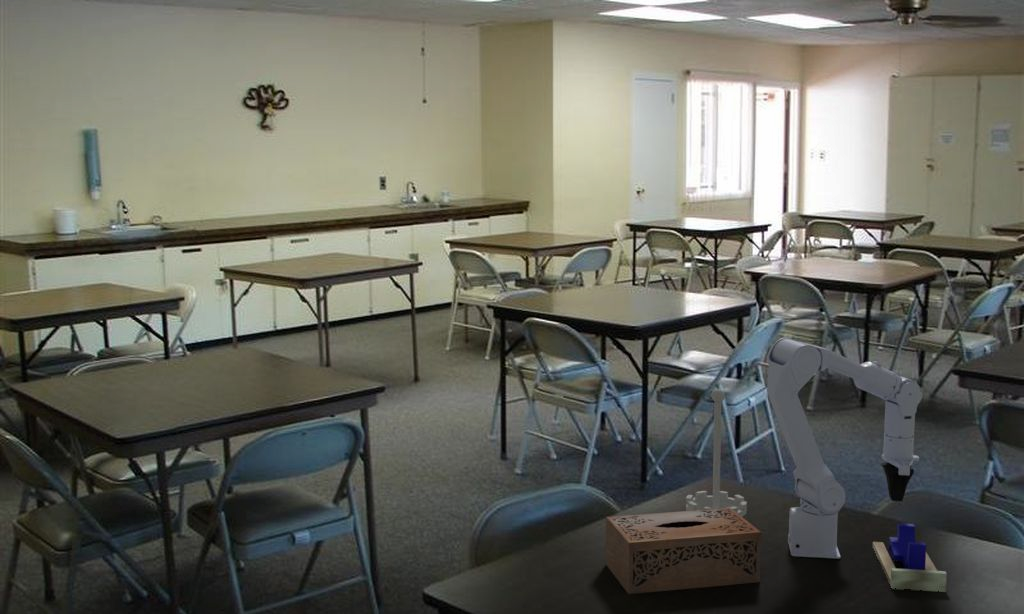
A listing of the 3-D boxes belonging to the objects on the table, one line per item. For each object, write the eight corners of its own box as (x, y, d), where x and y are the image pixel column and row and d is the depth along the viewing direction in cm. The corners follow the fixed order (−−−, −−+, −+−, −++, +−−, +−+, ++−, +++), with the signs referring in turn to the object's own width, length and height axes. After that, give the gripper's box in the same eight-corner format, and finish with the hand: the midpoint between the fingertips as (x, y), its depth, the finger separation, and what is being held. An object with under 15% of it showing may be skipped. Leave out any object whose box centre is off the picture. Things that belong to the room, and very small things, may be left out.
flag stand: (752, 533, 221) (755, 395, 217) (690, 533, 221) (692, 395, 217) (739, 513, 234) (742, 382, 230) (681, 513, 234) (683, 382, 230)
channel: (891, 588, 192) (892, 570, 192) (872, 547, 213) (873, 530, 212) (945, 592, 190) (946, 573, 190) (921, 550, 211) (922, 533, 211)
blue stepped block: (888, 551, 211) (890, 522, 210) (912, 552, 210) (913, 523, 210) (900, 574, 199) (901, 543, 199) (924, 575, 199) (926, 545, 198)
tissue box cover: (729, 555, 210) (730, 507, 208) (759, 583, 196) (761, 532, 194) (606, 566, 205) (606, 516, 203) (628, 595, 191) (628, 542, 189)
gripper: (927, 445, 204) (924, 511, 206) (912, 426, 218) (909, 489, 220) (889, 443, 205) (886, 510, 207) (877, 425, 219) (874, 488, 221)
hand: (896, 499), depth 214 cm, fingers closed
